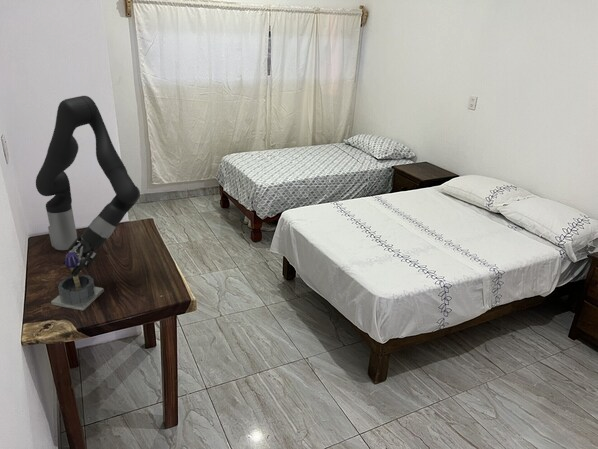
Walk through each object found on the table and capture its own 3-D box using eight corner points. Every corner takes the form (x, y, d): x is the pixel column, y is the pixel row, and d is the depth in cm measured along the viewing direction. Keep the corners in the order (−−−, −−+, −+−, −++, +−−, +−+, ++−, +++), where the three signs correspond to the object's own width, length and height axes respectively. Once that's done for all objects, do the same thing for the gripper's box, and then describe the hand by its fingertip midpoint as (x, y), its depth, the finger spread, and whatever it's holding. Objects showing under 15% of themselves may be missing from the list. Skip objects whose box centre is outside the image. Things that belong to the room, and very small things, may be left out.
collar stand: (51, 304, 148) (48, 289, 146) (74, 285, 159) (71, 271, 156) (83, 310, 146) (80, 295, 144) (104, 290, 157) (101, 276, 154)
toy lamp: (70, 299, 149) (61, 258, 142) (73, 291, 153) (64, 251, 146) (85, 298, 151) (77, 257, 143) (87, 290, 155) (80, 250, 147)
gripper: (83, 218, 150) (53, 256, 148) (97, 234, 141) (65, 275, 139) (100, 228, 156) (72, 265, 154) (115, 244, 147) (84, 283, 145)
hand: (68, 269), depth 147 cm, fingers open, 8 cm apart
